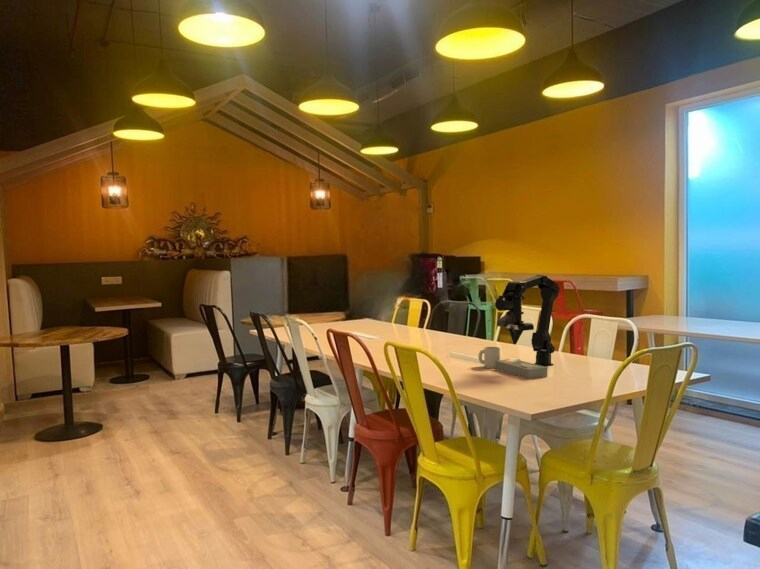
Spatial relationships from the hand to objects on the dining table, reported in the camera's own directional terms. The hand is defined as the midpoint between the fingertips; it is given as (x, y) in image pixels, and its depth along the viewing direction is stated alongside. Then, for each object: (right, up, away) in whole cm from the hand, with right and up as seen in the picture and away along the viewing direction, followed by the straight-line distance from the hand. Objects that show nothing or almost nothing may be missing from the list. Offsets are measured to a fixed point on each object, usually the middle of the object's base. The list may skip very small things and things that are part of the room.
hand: (514, 343), depth 255 cm
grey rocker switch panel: (+2, -13, -4) cm, 13 cm away
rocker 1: (-1, -8, +1) cm, 8 cm away
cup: (-10, -12, +11) cm, 19 cm away
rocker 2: (+4, -9, -10) cm, 14 cm away
